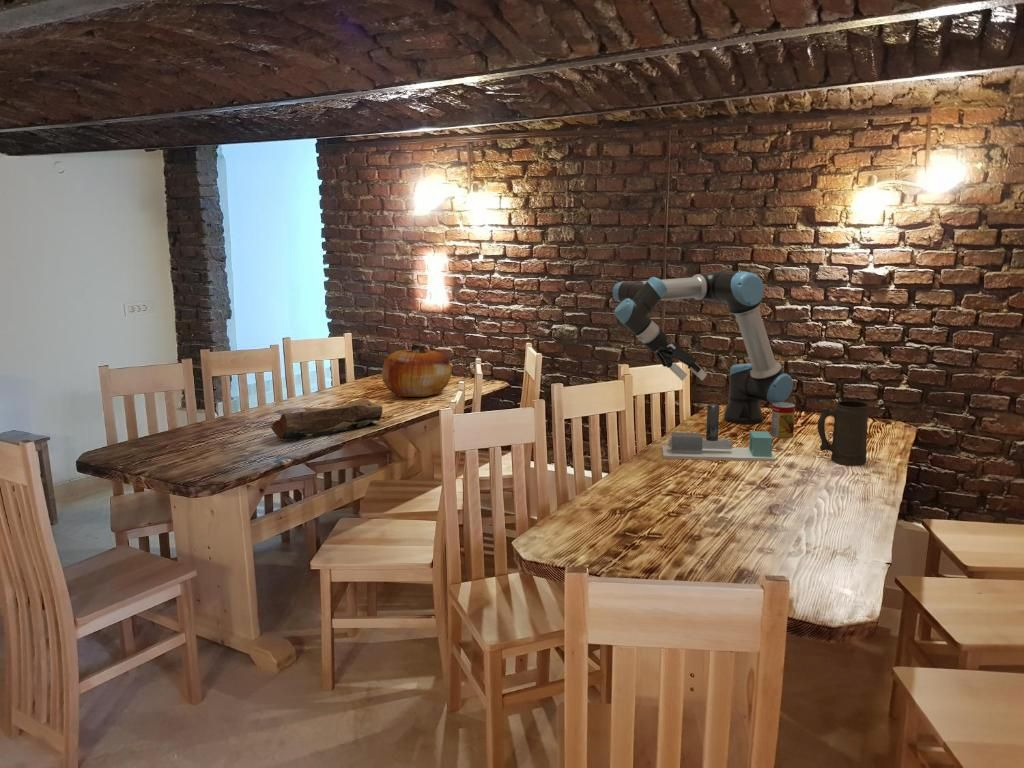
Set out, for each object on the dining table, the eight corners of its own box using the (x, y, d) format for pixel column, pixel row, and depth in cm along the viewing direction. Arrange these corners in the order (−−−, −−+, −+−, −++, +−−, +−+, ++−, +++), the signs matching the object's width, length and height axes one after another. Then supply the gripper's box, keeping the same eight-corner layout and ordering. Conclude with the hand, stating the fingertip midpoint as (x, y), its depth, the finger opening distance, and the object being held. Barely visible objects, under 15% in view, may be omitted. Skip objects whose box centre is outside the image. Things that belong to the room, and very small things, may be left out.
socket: (752, 456, 248) (753, 437, 247) (749, 449, 256) (749, 431, 254) (771, 456, 247) (772, 438, 246) (767, 449, 255) (768, 431, 253)
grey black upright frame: (668, 448, 254) (669, 405, 251) (668, 445, 258) (669, 403, 255) (732, 450, 250) (733, 407, 247) (730, 446, 254) (732, 404, 251)
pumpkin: (458, 388, 371) (454, 338, 367) (445, 400, 339) (441, 346, 335) (394, 391, 375) (389, 342, 371) (376, 403, 342) (371, 349, 338)
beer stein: (861, 456, 249) (862, 398, 245) (873, 466, 238) (874, 406, 234) (814, 458, 250) (813, 401, 246) (824, 468, 240) (824, 409, 236)
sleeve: (671, 453, 253) (672, 436, 252) (671, 448, 259) (671, 432, 257) (701, 453, 251) (702, 437, 250) (700, 449, 257) (700, 432, 256)
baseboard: (663, 458, 251) (663, 455, 251) (661, 448, 262) (661, 445, 262) (775, 461, 245) (775, 458, 245) (768, 451, 257) (769, 448, 256)
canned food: (797, 437, 273) (799, 405, 270) (780, 439, 270) (782, 407, 267) (782, 432, 280) (784, 401, 277) (766, 434, 277) (767, 403, 274)
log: (281, 445, 273) (286, 406, 271) (263, 432, 286) (267, 394, 284) (382, 441, 301) (386, 406, 298) (361, 430, 314) (365, 395, 311)
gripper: (629, 346, 262) (670, 385, 266) (662, 342, 238) (706, 385, 242) (642, 330, 263) (683, 370, 268) (676, 325, 239) (720, 368, 243)
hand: (694, 377), depth 255 cm, fingers open, 13 cm apart
